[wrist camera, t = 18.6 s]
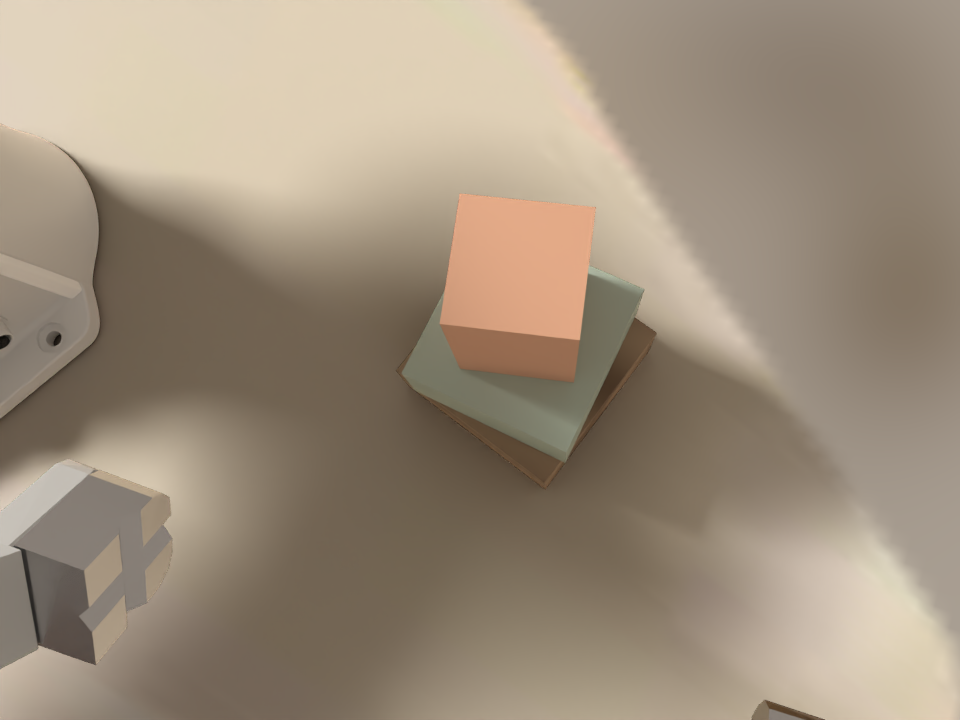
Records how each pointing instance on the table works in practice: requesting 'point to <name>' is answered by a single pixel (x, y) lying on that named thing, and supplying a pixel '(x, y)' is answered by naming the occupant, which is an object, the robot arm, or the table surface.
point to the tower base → (547, 466)
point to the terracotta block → (517, 286)
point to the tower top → (525, 400)
